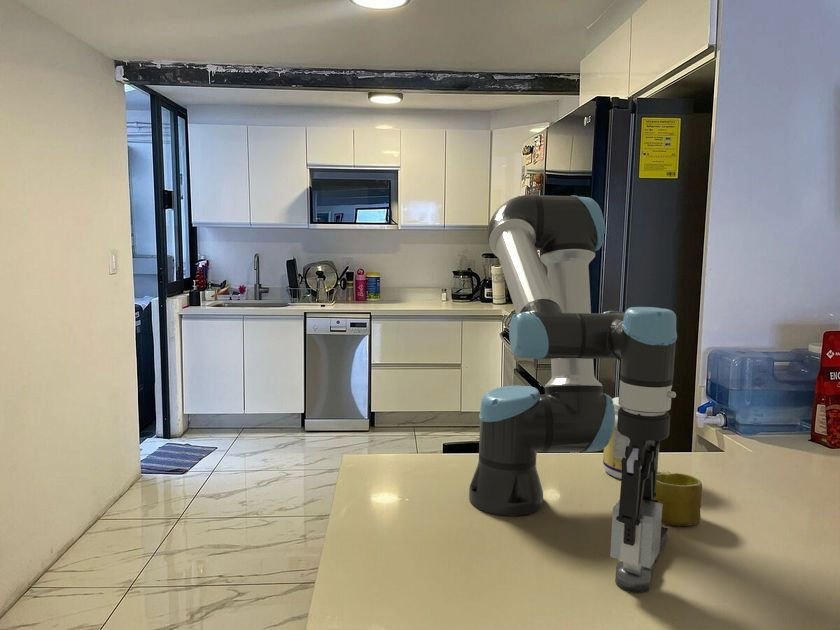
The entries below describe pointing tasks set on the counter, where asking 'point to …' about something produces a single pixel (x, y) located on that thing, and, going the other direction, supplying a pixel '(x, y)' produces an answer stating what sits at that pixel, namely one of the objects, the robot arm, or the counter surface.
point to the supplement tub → (616, 448)
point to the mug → (679, 498)
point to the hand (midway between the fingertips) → (635, 552)
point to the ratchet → (637, 571)
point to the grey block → (649, 532)
